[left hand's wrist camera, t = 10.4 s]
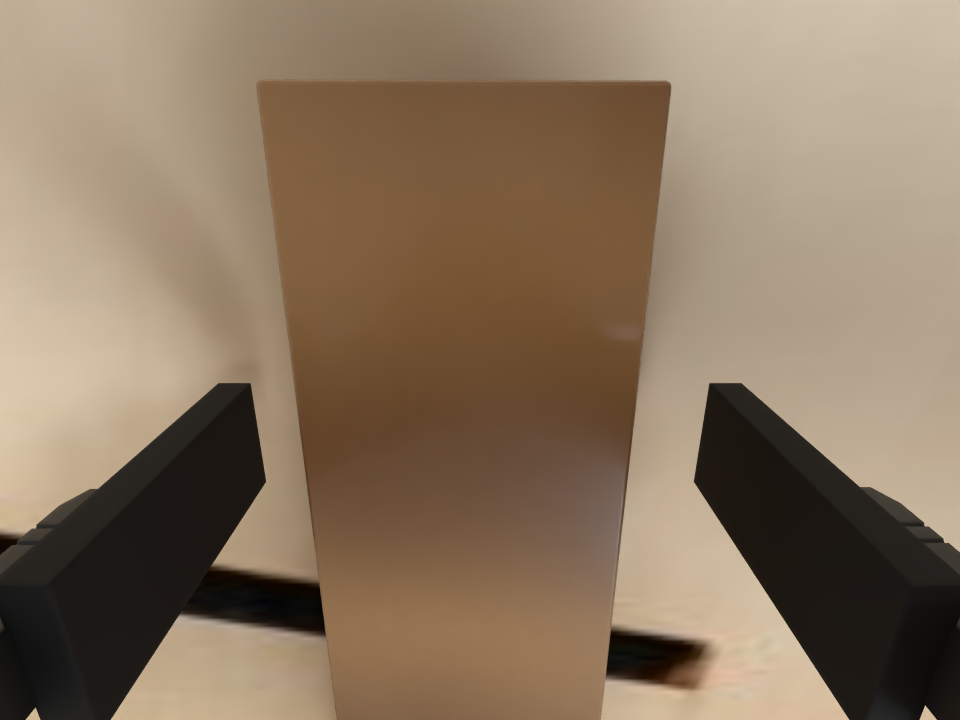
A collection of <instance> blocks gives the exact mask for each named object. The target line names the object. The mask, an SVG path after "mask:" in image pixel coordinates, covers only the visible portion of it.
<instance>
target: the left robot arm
mask: <svg viewBox="0 0 960 720" xmlns="http://www.w3.org/2000/svg"><path fill="white" fill-rule="evenodd" d="M265 483H266V478H265V472H264V466H263V459H262V453H261V447H260V440H259V434H258V428H257V421H256V415H255V409H254V402H253V396H252V390H251V383H218V384H217V385H216V386H215V387H214V388H213V389H212V390H210V391H209V392H208V393H207V394H206V395H205V396H204V397H202V398H201V399H200V400H199V401H198V402H197V403H196V404H194V405H193V406H192V407H191V408H190V409H189V410H188V411H187V412H185V413H184V414H183V415H182V416H181V417H180V418H179V419H177V420H176V421H175V422H174V423H173V424H172V425H171V426H169V427H168V428H167V429H166V430H165V431H164V432H163V433H161V434H160V435H159V436H158V437H157V438H156V439H155V440H153V441H152V442H151V443H150V444H149V445H148V446H147V447H145V448H144V449H143V450H142V451H141V452H140V453H139V454H137V455H136V456H135V457H134V458H133V459H132V460H131V461H129V462H128V463H127V464H126V465H125V466H124V467H123V468H121V469H120V470H119V471H118V472H117V473H116V474H115V475H114V476H112V477H111V478H110V479H109V480H108V481H107V482H106V483H104V484H103V485H102V486H101V487H100V488H99V489H90V490H88V491H86V492H84V493H82V494H80V495H78V496H77V497H75V498H73V499H71V500H69V501H67V502H65V503H63V504H62V505H60V506H59V507H57V508H56V509H55V510H54V511H53V512H51V513H50V514H49V515H48V516H47V517H45V518H44V519H43V520H42V521H41V522H39V523H38V524H37V527H36V529H31V530H30V531H29V532H27V533H26V534H25V535H24V536H23V537H21V538H20V539H19V540H18V541H17V545H12V546H11V547H9V548H8V549H7V550H6V551H5V552H3V553H2V554H1V555H0V720H26V718H27V717H28V716H29V715H30V713H31V712H32V711H33V710H34V708H35V707H36V709H37V712H38V714H39V717H40V720H111V718H112V717H113V715H114V714H115V712H116V711H117V709H118V708H119V706H120V705H121V703H122V701H123V700H124V698H125V697H126V695H127V694H128V692H129V691H130V689H131V688H132V686H133V685H134V683H135V682H136V680H137V679H138V677H139V675H140V674H141V672H142V671H143V669H144V668H145V666H146V665H147V663H148V662H149V660H150V659H151V657H152V656H153V654H154V652H155V651H156V649H157V648H158V646H159V645H160V643H161V642H162V640H163V639H164V637H165V636H166V634H167V633H168V631H169V630H170V628H171V626H172V625H173V623H174V622H175V620H176V619H177V617H178V616H179V614H180V613H181V611H182V610H183V608H184V607H185V605H186V604H187V602H188V600H189V599H190V597H191V596H192V594H193V593H194V591H195V590H196V588H197V587H198V585H199V584H200V582H201V581H202V579H203V577H204V576H205V574H206V573H207V571H208V570H209V568H210V567H211V565H212V564H213V562H214V561H215V559H216V558H217V556H218V555H219V553H220V551H221V550H222V548H223V547H224V545H225V544H226V542H227V541H228V539H229V538H230V536H231V535H232V533H233V532H234V530H235V528H236V527H237V525H238V524H239V522H240V521H241V519H242V518H243V516H244V515H245V513H246V512H247V510H248V509H249V507H250V506H251V504H252V502H253V501H254V499H255V498H256V496H257V495H258V493H259V492H260V490H261V489H262V487H263V486H264V484H265ZM694 483H695V484H696V486H697V487H698V489H699V490H700V492H701V493H702V495H703V496H704V498H705V499H706V501H707V502H708V504H709V506H710V507H711V509H712V510H713V512H714V513H715V515H716V516H717V518H718V519H719V521H720V522H721V524H722V525H723V527H724V529H725V530H726V532H727V533H728V535H729V536H730V538H731V539H732V541H733V542H734V544H735V545H736V547H737V548H738V550H739V551H740V553H741V555H742V556H743V558H744V559H745V561H746V562H747V564H748V565H749V567H750V568H751V570H752V571H753V573H754V574H755V576H756V577H757V579H758V581H759V582H760V584H761V585H762V587H763V588H764V590H765V591H766V593H767V594H768V596H769V597H770V599H771V600H772V602H773V604H774V605H775V607H776V608H777V610H778V611H779V613H780V614H781V616H782V617H783V619H784V620H785V622H786V623H787V625H788V626H789V628H790V630H791V631H792V633H793V634H794V636H795V637H796V639H797V640H798V642H799V643H800V645H801V646H802V648H803V649H804V651H805V653H806V654H807V656H808V657H809V659H810V660H811V662H812V663H813V665H814V666H815V668H816V669H817V671H818V672H819V674H820V675H821V677H822V679H823V680H824V682H825V683H826V685H827V686H828V688H829V689H830V691H831V692H832V694H833V695H834V697H835V698H836V700H837V701H838V703H839V705H840V706H841V708H842V709H843V711H844V712H845V714H846V715H847V717H848V718H849V720H919V719H920V717H921V714H922V712H923V709H924V707H925V705H926V707H927V708H928V709H929V710H930V712H931V713H932V714H933V715H934V716H935V718H936V719H937V720H960V552H959V551H957V550H956V549H955V548H954V547H953V546H951V545H950V544H949V543H944V541H943V538H942V537H941V536H939V535H938V534H937V533H936V532H935V531H933V530H932V529H931V528H930V527H925V526H924V522H923V521H921V520H920V519H919V518H918V517H916V516H915V515H914V514H913V513H912V512H910V511H909V510H908V509H907V508H906V507H904V506H903V505H902V504H901V503H899V502H897V501H895V500H893V499H891V498H889V497H888V496H886V495H884V494H882V493H880V492H878V491H876V490H874V489H873V488H871V487H859V486H858V485H857V484H856V483H854V482H853V481H852V480H851V479H850V478H849V477H848V476H846V475H845V474H844V473H843V472H842V471H841V470H840V469H838V468H837V467H836V466H835V465H834V464H833V463H832V462H831V461H829V460H828V459H827V458H826V457H825V456H824V455H823V454H821V453H820V452H819V451H818V450H817V449H816V448H815V447H813V446H812V445H811V444H810V443H809V442H808V441H807V440H805V439H804V438H803V437H802V436H801V435H800V434H799V433H797V432H796V431H795V430H794V429H793V428H792V427H791V426H789V425H788V424H787V423H786V422H785V421H784V420H783V419H781V418H780V417H779V416H778V415H777V414H776V413H775V412H773V411H772V410H771V409H770V408H769V407H768V406H767V405H765V404H764V403H763V402H762V401H761V400H760V399H759V398H758V397H756V396H755V395H754V394H753V393H752V392H751V391H750V390H748V389H747V388H746V387H745V386H744V385H743V384H742V383H709V390H708V396H707V402H706V409H705V415H704V421H703V428H702V434H701V440H700V447H699V453H698V459H697V465H696V472H695V478H694Z"/></svg>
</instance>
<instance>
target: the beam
mask: <svg viewBox="0 0 960 720" xmlns="http://www.w3.org/2000/svg"><path fill="white" fill-rule="evenodd" d="M257 94H258V102H259V110H260V118H261V126H262V133H263V141H264V149H265V157H266V165H267V173H268V181H269V189H270V197H271V204H272V212H273V220H274V228H275V236H276V244H277V252H278V260H279V268H280V275H281V283H282V291H283V299H284V307H285V315H286V323H287V331H288V339H289V346H290V354H291V362H292V370H293V378H294V386H295V394H296V402H297V410H298V417H299V425H300V433H301V441H302V449H303V457H304V465H305V473H306V481H307V489H308V496H309V504H310V512H311V520H312V528H313V536H314V544H315V552H316V560H317V567H318V575H319V583H320V591H321V599H322V607H323V615H324V623H325V631H326V638H327V646H328V654H329V662H330V670H331V678H332V686H333V694H334V702H335V709H336V717H337V720H601V712H602V703H603V694H604V685H605V676H606V668H607V659H608V650H609V641H610V632H611V623H612V614H613V605H614V596H615V587H616V578H617V569H618V560H619V551H620V542H621V533H622V525H623V516H624V507H625V498H626V489H627V480H628V471H629V462H630V453H631V444H632V435H633V426H634V417H635V408H636V399H637V391H638V382H639V373H640V364H641V355H642V346H643V337H644V328H645V319H646V310H647V301H648V292H649V283H650V274H651V265H652V257H653V248H654V239H655V230H656V221H657V212H658V203H659V194H660V185H661V176H662V167H663V158H664V149H665V140H666V131H667V122H668V114H669V105H670V96H671V84H670V82H668V81H600V80H260V81H258V82H257Z"/></svg>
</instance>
